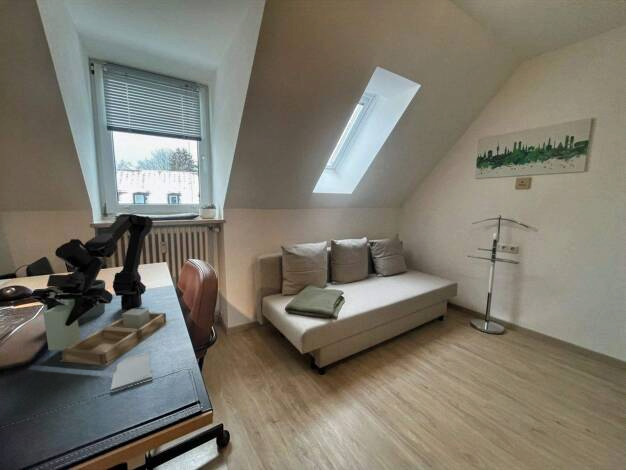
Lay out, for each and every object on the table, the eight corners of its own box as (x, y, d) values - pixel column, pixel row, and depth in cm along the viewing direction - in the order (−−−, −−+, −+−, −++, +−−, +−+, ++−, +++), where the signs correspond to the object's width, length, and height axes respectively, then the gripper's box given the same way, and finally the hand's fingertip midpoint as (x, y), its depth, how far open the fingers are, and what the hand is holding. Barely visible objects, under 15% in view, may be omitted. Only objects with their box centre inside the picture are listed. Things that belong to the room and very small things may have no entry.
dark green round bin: (78, 310, 99) (75, 281, 97) (111, 306, 103) (108, 278, 102) (68, 321, 90) (64, 289, 88) (104, 316, 94) (101, 285, 93)
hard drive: (152, 376, 62) (151, 350, 72) (109, 389, 57) (115, 360, 67) (152, 382, 62) (151, 355, 72) (110, 396, 57) (115, 365, 68)
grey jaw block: (133, 325, 86) (132, 308, 85) (150, 326, 86) (148, 309, 85) (124, 331, 82) (122, 313, 81) (140, 332, 82) (139, 315, 81)
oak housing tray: (132, 321, 91) (131, 311, 90) (168, 324, 89) (168, 313, 89) (60, 364, 67) (58, 350, 66) (107, 368, 66) (106, 354, 65)
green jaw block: (63, 341, 73) (58, 305, 71) (80, 340, 73) (75, 305, 72) (48, 350, 68) (43, 312, 67) (66, 349, 69) (61, 312, 67)
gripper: (31, 261, 71) (-9, 316, 61) (101, 261, 72) (73, 315, 63) (60, 279, 79) (29, 330, 70) (122, 279, 81) (100, 328, 72)
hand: (57, 325), depth 68 cm, fingers closed on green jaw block, 4 cm apart
